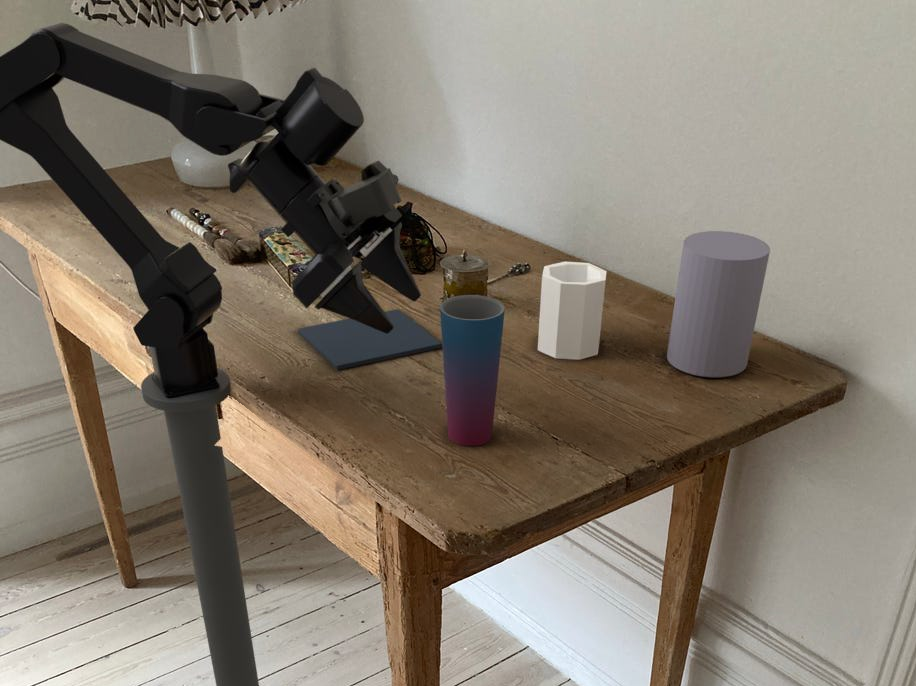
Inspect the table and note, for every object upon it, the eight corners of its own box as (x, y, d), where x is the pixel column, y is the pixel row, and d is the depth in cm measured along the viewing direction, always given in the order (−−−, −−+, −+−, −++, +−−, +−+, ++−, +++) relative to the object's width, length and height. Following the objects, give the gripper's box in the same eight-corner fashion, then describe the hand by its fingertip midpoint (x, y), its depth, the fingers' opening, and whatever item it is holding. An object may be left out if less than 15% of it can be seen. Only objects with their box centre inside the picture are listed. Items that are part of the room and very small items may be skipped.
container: (671, 341, 138) (688, 227, 129) (748, 351, 137) (771, 236, 127) (661, 373, 131) (679, 254, 121) (744, 384, 129) (768, 264, 119)
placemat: (337, 370, 129) (337, 365, 129) (298, 332, 138) (297, 328, 138) (442, 347, 135) (442, 343, 135) (398, 313, 144) (398, 308, 144)
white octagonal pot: (609, 357, 134) (617, 282, 128) (546, 362, 132) (551, 287, 126) (579, 321, 143) (585, 249, 137) (520, 326, 141) (523, 253, 135)
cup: (433, 445, 115) (432, 315, 106) (448, 418, 120) (449, 291, 111) (492, 453, 114) (496, 323, 104) (505, 425, 119) (511, 298, 109)
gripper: (311, 166, 93) (429, 299, 98) (380, 118, 107) (480, 237, 112) (243, 245, 100) (356, 366, 105) (316, 190, 114) (413, 300, 119)
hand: (404, 314), depth 110 cm, fingers open, 9 cm apart
